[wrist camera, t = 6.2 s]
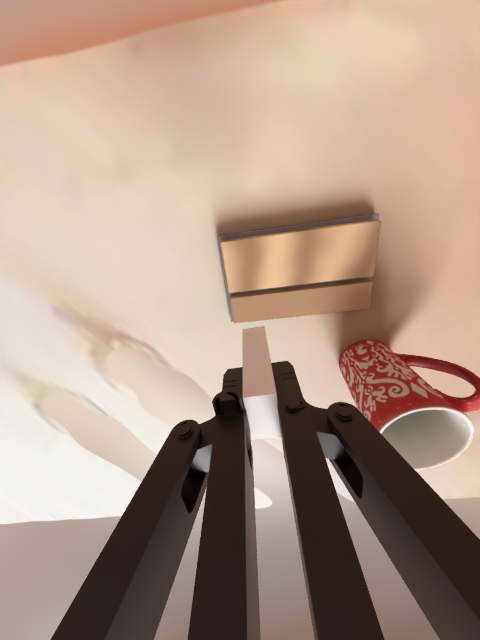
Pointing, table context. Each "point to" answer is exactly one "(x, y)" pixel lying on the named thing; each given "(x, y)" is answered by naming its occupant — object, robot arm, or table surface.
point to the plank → (301, 256)
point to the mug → (410, 403)
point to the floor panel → (298, 286)
